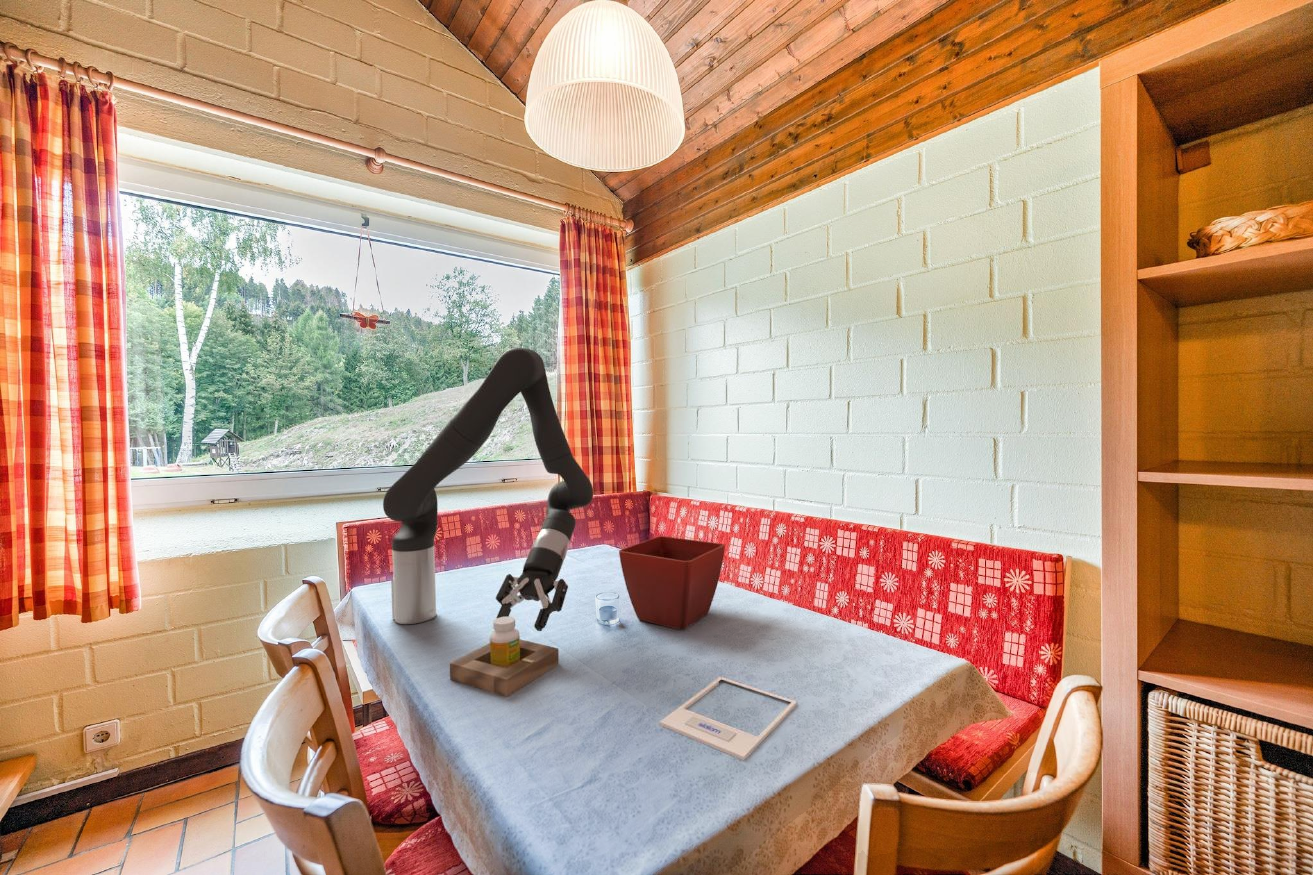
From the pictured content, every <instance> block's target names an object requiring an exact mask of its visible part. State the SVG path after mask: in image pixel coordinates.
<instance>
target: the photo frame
mask: <svg viewBox="0 0 1313 875" xmlns="http://www.w3.org/2000/svg"><path fill="white" fill-rule="evenodd" d="M720 681H722V682H723V681H724V682H726V683H730V684H733V685H735V686H739V687H742V688H745V689H748V690H750V691H751V690H752V691H754V692H757V693H760V694H763V695H766V696H770V697H772V698H775V699H778V700H783V701H785V702H788V703H789V704H788V705H787V706H786V707H785V708H784V709H783V710H782V711H781V712H780V713H779V714H778V716H777V717H775V719H774V720H773V721H772V722H770V723H769V724H768V726H766V728H765V729H764V730H762V732H761V733H760V734H758V736H756V735H753V734H751V733H750V732H746V731H743V730H740V729H738V728H735V727H733V726H730V725H727V724H726V723H725V724H724V723H722V722H720V721H718V720H714V719H711V718H709V717H707V716H704V715H702V714H699V713H696V712H693V711H691V710H688V708H689V707H691V706H692V705H693V704H695V703H696V702H697V701H698V700H700V699H701V698H702V697H703V696H705V695H706V694H708V693H709V692H710V691H711V690H713V689H714V688H716V687H717V686H718V685H719V684H720ZM797 706H798V701H796V700H793V699H789V698H787V697H784V696H780V695H777V694H775V693H771V692H769V691H766V690H762V689H759V688H756V687H754V686H750V685H747V684H744V683H741V682H739V681H738V682H737V681H735V680H731V679H728V678H725V677H722V676H719V677H718V678H717V679H715V680H713V681H712V682H711V683H709V685H707V686H705V688H703V689H702V690H700V691H699V692H698V693H696V694H695V695H694V696H692V697H691V698H690V699H688V700H687V701H685V702H684V703H683V704H682V705H680V706H679V707H677V708H676V709H675V710H674V711H672V712H670V714H668V715H666V716H665V717H664V718H662V719H660V721H659V726H660V727H661V726H662V727H663V728H666V729H668V730H670V731H673V732H676V733H678V734H680V735H683V736H685V737H687V738H689V739H692V740H694V741H696V742H699V743H700V744H701V743H702V744H703V745H707V747H708V746H709V747H711V748H713V749H716V750H718V751H721V752H723V753H726V754H728V755H730V756H732V757H735V758H737V759H738V760H742V761H745V760H746V759H747V758H748V757H749V755H751V754H752V753H753V751H754V750H755V749H756V748H758V746H759V745H760V744H761V743H762V742H763V741H764V740H765V739H766V738H767V737H768V735H769V734H771V733H772V731H774V729H775V728H777V726H778V725H779V724H780V723H781V722H782V721H783V720H784V719H785V718H786V717H787V716H788V715H789V713H790V712H792V711H793V709H794V708H795V707H797Z"/></svg>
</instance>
